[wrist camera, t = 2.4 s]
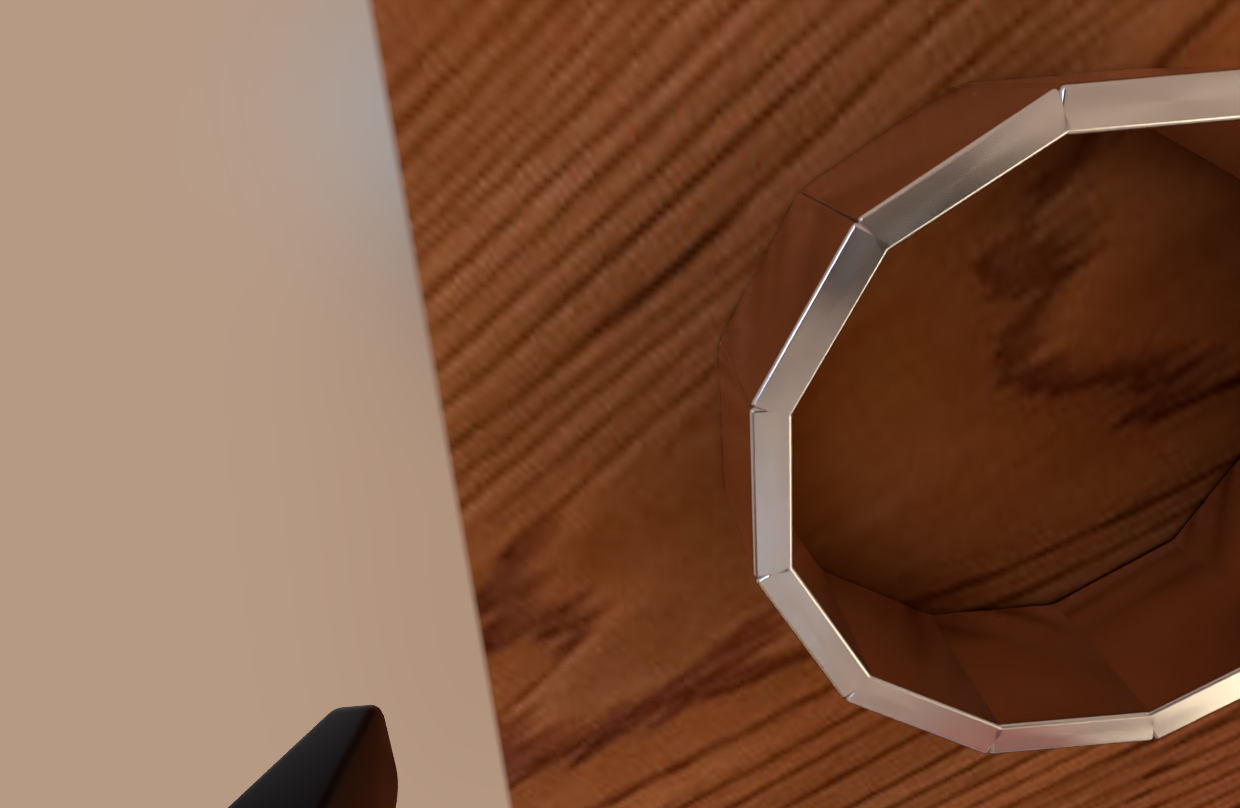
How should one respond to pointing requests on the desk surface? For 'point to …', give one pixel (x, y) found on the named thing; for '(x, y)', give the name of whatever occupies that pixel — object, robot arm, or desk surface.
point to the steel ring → (1000, 638)
